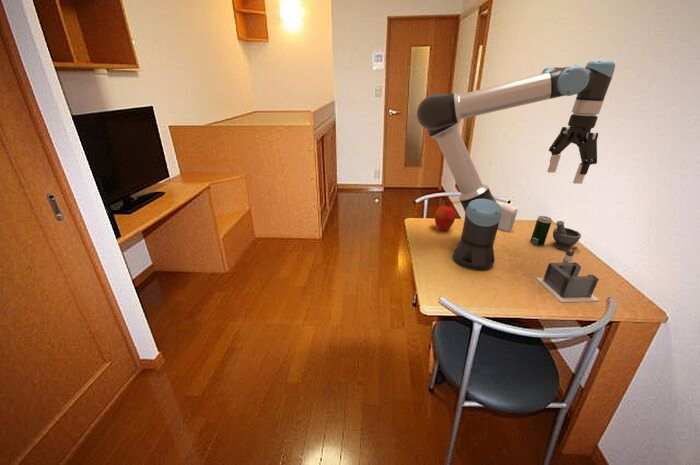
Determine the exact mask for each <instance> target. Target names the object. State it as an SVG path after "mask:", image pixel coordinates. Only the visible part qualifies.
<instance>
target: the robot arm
mask: <svg viewBox="0 0 700 465" xmlns="http://www.w3.org/2000/svg"><path fill="white" fill-rule="evenodd" d="M615 68H616V63H615V62H614V61H613V60H591V61H588V62H587V63H586V65H585V67H584V66H581V65H577V64H576V65H571V66H566V67H565V66H564V67H556V66H553V67H544V69H543V70H542V71H541V73H540V74H538V75H533V76H529V77H528V76H527V77H525V78H520V79H517V80H513V81H509V82H506V83H505V82H504V83H501V84H497V85H493V86H489V87H485V88H480V89H477V90H473V91H470V92H469V91H468V92H466V93H462V94H458V93H456V92H452V93H448V94H444V93H441V92H440V93H439V92H438V93H433V94H431V95H428V96H426V97H425V98H424V99H423V100H422V101H420V103H419V105H418V107H417V111H416V118H417V121H418V124H420V125H421V127H422V128H424V129H425V130H426V131H427V133H428V135H429V137H430V138H432V139H435V140H436V142H437V144H438V147H439V149H440V151H441V153H442V155H443V157H444V160H445V162H446V164H447V165H448V168H449V171H450V172H451V174H452V177H453V180H454V181H455V184H456V185H457V188H458V190H459V191H460V194H459V197H458V200H459V202H460V203H461V206H462V208H463V210H464V222H463V227H462V232H461V237H460V239H459V240H460V241H458V243H457V244H456V247H455V248H454V249H453V252H452V260H453V261H454V263H455V264H456V265H458V266H460V267H463V268H465V269H467V270H469V271H470V270H471V271H477V272H484V271H488V270H491V269H492V268H493V267H494V264H495V253H494V243H495V241H496V237H497V232H498V230H499V228H498V225H499V221H500V219H501V216H502V209H501V206H500V205H499V204H498V202H497V201H496V198H495V197H494V196H493V195H492V192H491V190H490V188H489V186H488V185H486V184H483V182H482V180H481V178H480V176H479V173H478V172H477V168H476V167H475V164H474V162H473V160H472V158H471V156H470V152H469V151H468V148H467V146H466V144H465V142H464V139H463V137H462V135H461V132H460V131H459V125H460V122H461V120H464V119H467V118H473V117H476V116H480V115H485V114H490V113H494V112H498V111H502V110H506V109H512V108H516V107H520V106H524V105H525V106H526V105H528V104H534V103H537V102H543V101H546V100H551V99H557V98H560V97H565V96H566V97H570V96H574V95H576V98H575V101H574V103H573V106H572V110H571V113H572V114H571V115H570V117H569V120H568V123H567V125H568V126H562V127H561V130H560V131H559V133H558V135H557V137H556V138H555V140H554V141H553V143H551V145H550V147H549V148H548V152H550V153H551V157H550V160H549V166H548V168H547V173H556V172H557V168H558V165H559V162H560V160H561V156H562V155H561V154H562V152H563V151H564V150H566V148H567V147H569V145H570V144H574V145H576V146H577V147H578V151H579V156H580V160H581V162H580V163H579V164H578V168H577V170H576V173H575V175H574V179H573V181H572V183H573V184H577V185H578V184H583V182H584V179H585V176H586V175H587V173H588V172H589V168H590V166H591V165H596V164H597V163H598V137H599V132H592V131H591V130H593V129H594V128H595V127H596V124H597V121H598V115H599V114H600V112H601V109H602V106H603V103H604V100H605V98H606V95H607V93H608V91H609V90H608V89H609V87H610V84H611V81H612V80H613V76H614V72H615Z"/></svg>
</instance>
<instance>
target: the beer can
mask: <svg viewBox="0 0 700 465" xmlns="http://www.w3.org/2000/svg"><path fill="white" fill-rule="evenodd" d="M535 222H536V223H535V224H534V225H535V226H534V229H533V231H532V235H531V237H530V244H531V245H534V246H535V247H542V246H544V245H545V242H546V240H547V237H548V234H549V231H550V228H551V225H552V218H551V217H549V216H545V215H539V216H538V217H537V218H536V221H535Z"/></svg>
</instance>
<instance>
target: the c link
mask: <svg viewBox="0 0 700 465" xmlns="http://www.w3.org/2000/svg"><path fill="white" fill-rule="evenodd" d="M581 269H582V265H580V264H579V263H577V262H571V263H562V262H549V263H548V265H547V268H546V270H545V273H544V276H543V277H542V278H543V281H544V282H545V283H547V284H548V285H549V286H550V287H551V288H552V289H553V290H554V291H555V292H556V293H557V294H559V295H560V296H561V297H562V298H575V297H591V296H592V295H593V293H594V291H595V289H596V286H597V284H598V282H599V280H600V279H599V278H598V277H597V276H596V275H594V274H587V275H580V276H579V274H580V271H581Z"/></svg>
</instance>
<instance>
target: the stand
mask: <svg viewBox="0 0 700 465" xmlns="http://www.w3.org/2000/svg"><path fill="white" fill-rule="evenodd" d="M574 255H575V250H574V249H572V248H571V249H568V250H565V254H564V257H563V259H562V262H561V263H572V262H571V261H572V260H573V258H574Z"/></svg>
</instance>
